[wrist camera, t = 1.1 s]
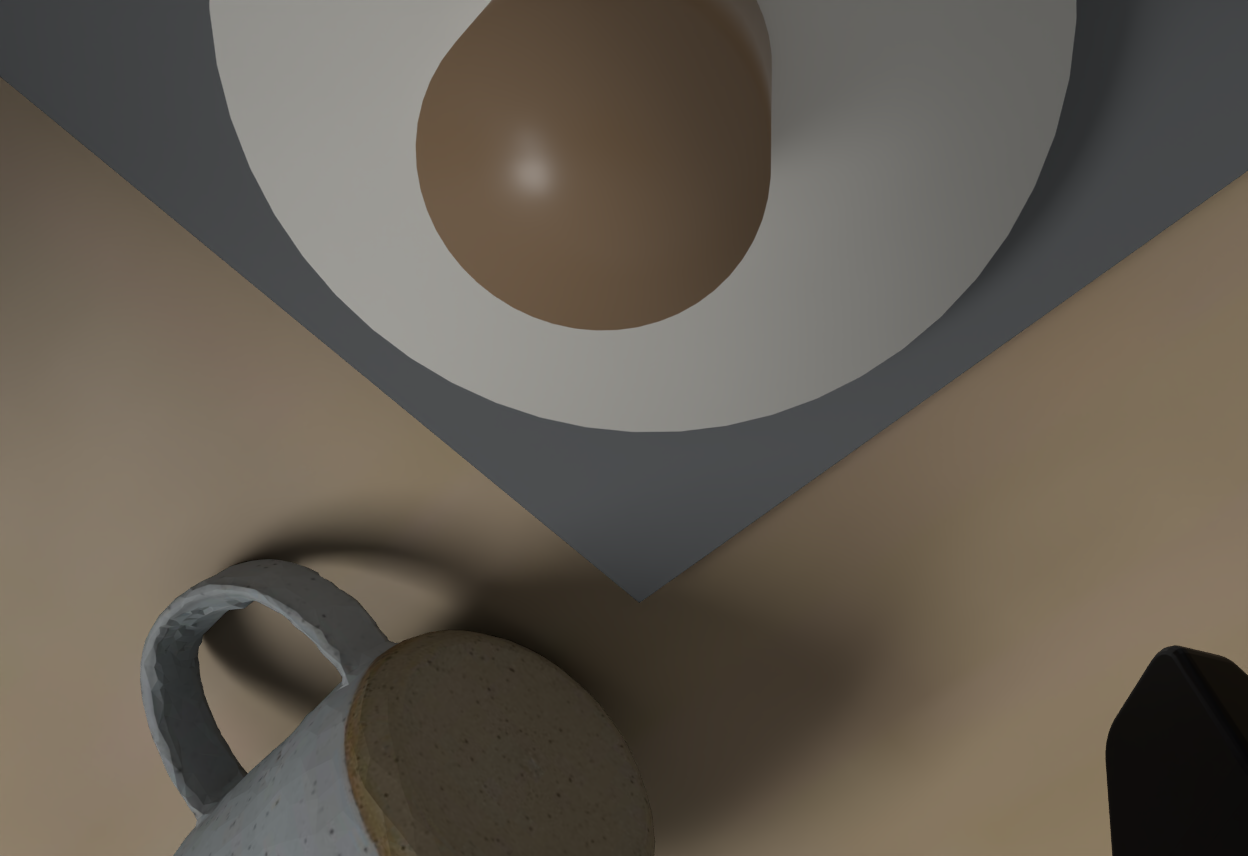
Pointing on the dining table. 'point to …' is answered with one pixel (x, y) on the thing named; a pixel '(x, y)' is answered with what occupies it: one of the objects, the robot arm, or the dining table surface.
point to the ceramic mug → (392, 741)
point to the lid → (646, 182)
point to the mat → (695, 459)
